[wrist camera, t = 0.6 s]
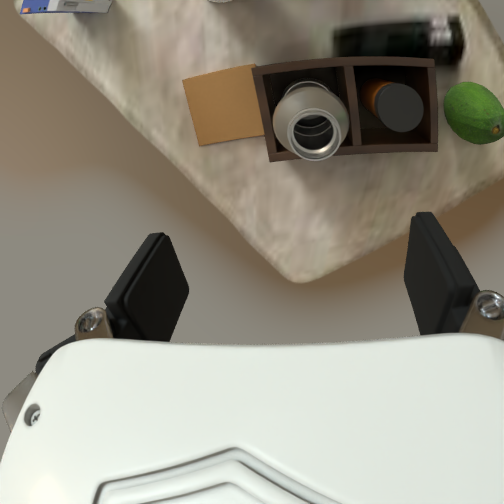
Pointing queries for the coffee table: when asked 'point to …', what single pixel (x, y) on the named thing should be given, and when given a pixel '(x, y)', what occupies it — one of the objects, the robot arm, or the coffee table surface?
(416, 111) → the spice jar
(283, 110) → the metal flask
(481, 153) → the coffee table surface
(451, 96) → the fruit
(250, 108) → the cork mat
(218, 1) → the water bottle
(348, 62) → the brown divided box
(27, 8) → the walkman
